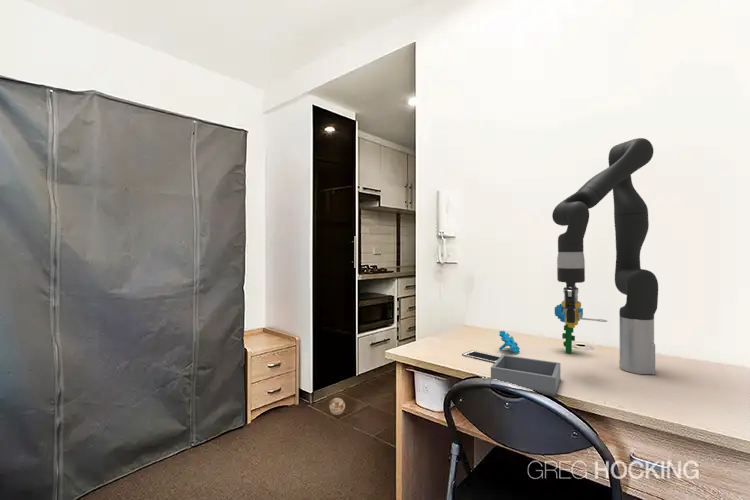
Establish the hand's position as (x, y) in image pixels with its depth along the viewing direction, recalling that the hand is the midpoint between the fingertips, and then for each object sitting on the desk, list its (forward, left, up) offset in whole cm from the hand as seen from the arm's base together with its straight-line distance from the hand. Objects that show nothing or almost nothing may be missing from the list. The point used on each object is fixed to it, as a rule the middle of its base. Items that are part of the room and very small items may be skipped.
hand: (571, 320), depth 113 cm
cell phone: (+28, -5, -18) cm, 34 cm away
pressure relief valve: (-3, 0, -2) cm, 4 cm away
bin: (+11, +13, -17) cm, 24 cm away
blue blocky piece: (+20, -18, -18) cm, 32 cm away
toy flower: (+2, -28, -17) cm, 33 cm away
